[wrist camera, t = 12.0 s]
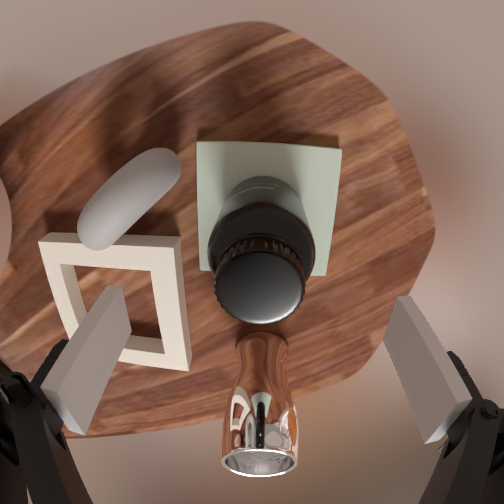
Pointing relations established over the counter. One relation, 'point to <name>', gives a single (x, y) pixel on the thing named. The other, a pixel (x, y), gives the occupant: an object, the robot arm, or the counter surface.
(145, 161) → the donut
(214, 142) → the mat
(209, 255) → the supplement bottle
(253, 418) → the beer glass
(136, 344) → the holder
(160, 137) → the counter surface
